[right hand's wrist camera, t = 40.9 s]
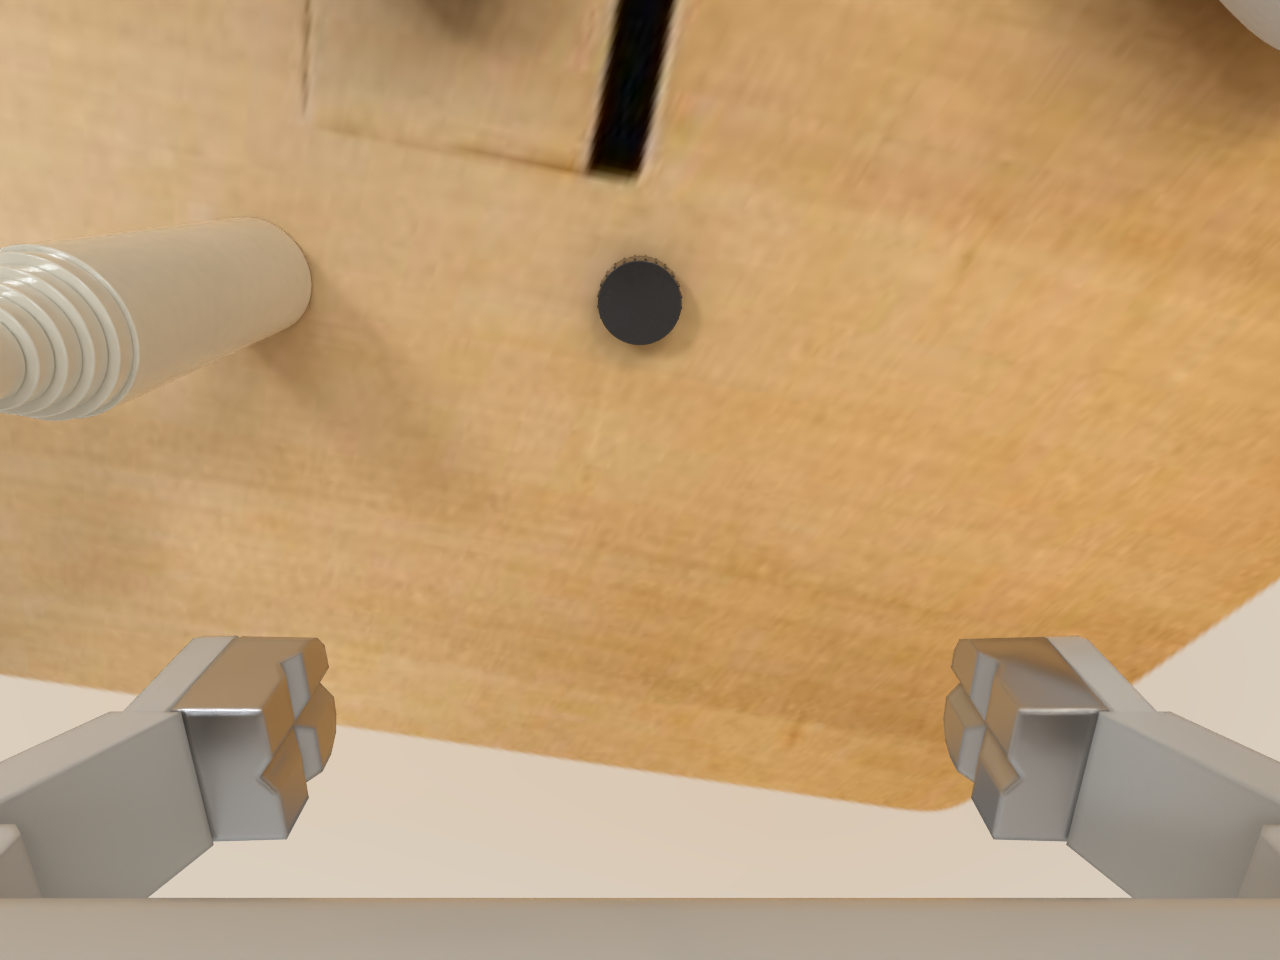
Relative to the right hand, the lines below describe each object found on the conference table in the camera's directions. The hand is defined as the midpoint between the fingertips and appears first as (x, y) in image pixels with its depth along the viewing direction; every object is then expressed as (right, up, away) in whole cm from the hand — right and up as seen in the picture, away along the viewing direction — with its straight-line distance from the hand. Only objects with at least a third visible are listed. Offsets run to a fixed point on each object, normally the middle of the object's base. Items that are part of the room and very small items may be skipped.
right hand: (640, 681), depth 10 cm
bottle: (-18, +12, +28) cm, 36 cm away
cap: (0, +11, +27) cm, 29 cm away
